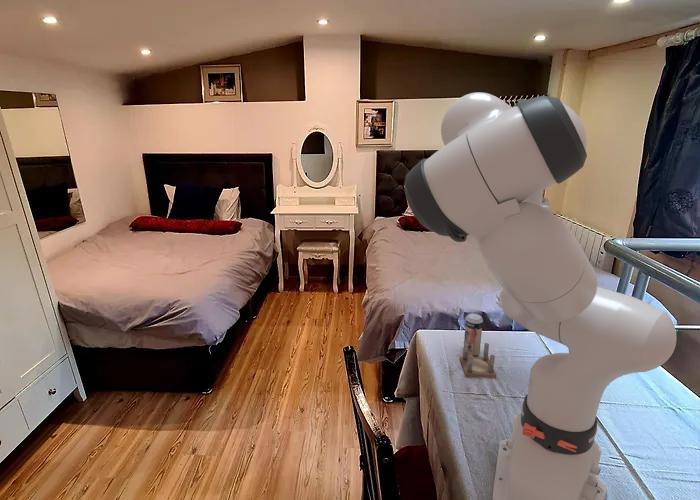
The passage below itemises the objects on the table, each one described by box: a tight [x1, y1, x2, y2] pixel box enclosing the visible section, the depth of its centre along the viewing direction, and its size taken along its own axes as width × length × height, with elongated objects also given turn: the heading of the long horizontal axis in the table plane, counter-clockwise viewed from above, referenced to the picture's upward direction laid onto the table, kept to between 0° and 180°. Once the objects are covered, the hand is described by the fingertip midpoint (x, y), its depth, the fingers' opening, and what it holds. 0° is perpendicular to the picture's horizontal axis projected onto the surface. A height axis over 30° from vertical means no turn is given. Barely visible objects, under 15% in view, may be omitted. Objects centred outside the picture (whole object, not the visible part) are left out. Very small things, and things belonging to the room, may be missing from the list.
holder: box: [459, 342, 498, 379], centre depth 102 cm, size 8×8×6 cm
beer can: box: [462, 312, 484, 357], centre depth 109 cm, size 5×5×12 cm
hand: (514, 254), depth 95 cm, fingers open, 8 cm apart
